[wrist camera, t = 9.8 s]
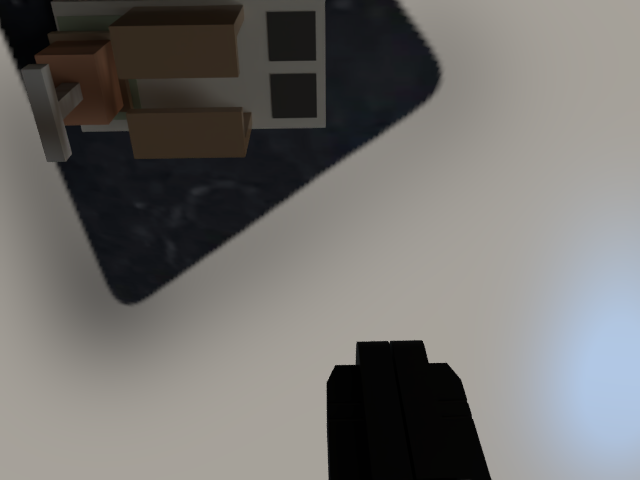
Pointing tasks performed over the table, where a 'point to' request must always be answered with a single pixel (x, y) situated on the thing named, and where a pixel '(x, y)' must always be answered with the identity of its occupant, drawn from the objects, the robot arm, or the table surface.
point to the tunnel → (209, 69)
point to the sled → (74, 87)
